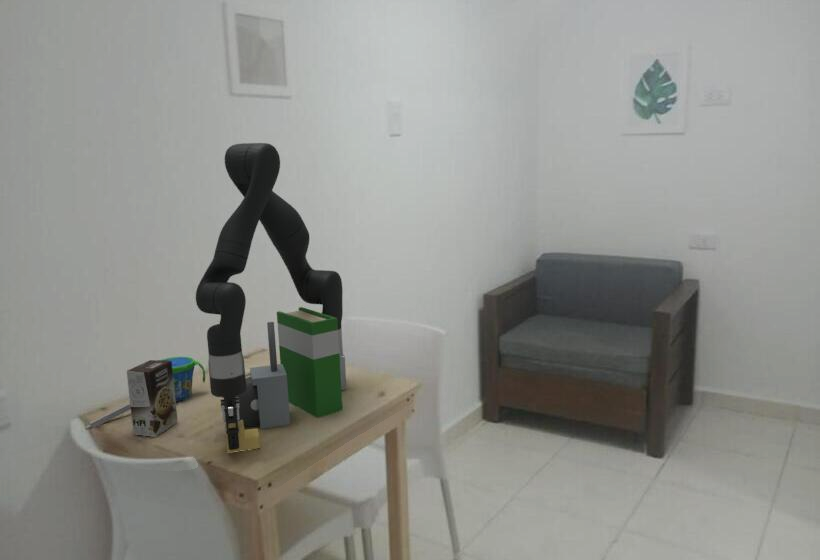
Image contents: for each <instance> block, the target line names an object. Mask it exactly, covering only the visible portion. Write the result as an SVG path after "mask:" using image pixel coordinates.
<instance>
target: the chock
mask: <svg viewBox="0 0 820 560" xmlns="http://www.w3.org/2000/svg"><path fill="white" fill-rule="evenodd" d="M228 426H229V428H234V427H236V424H235V423H230V424H229V425H228ZM224 429H225V440H226V450H227V452H234V451H240V450H248V449H256V450H258V449H257V448H260V449H261V444H260V435H259V430H258V429H259V428H258V427H256V428H250V429H245V424H244V423H243V420H240V421H239V422H238V429H239V433H238V438H239V448H238V449H235V450H229V445H228V435H227V433H226V430H227V429H226V424H224Z"/></svg>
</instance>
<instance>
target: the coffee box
mask: <svg viewBox="0 0 820 560" xmlns="http://www.w3.org/2000/svg"><path fill="white" fill-rule="evenodd" d="M126 377H127V378H126V379H127V386H128V387H127V388H128V394H129V395H128V396H129V403H130V406H131V409H130V413H131V415H130V416H131V423H132V434H136V435H135V436H137V435H143V436H142V437H146V436H151V437H150V438H156V437H155V436H157V435H158V436H159V434H160V433H161V434H163V433H164V432H166V431H168V430H169V429H171V428H172V427H174V426H175V425H177V424H178V423H179V421H178V413H177V412H178V410H177V403H176V402H177V401H176V400H175V390H174V380H173V371H172V361H166V360H163V359H160V360H159V359H157V360H155V359H153V360H152V359H150V360H148V361H145V362H143V363H141V364H139V365H136V366H134V367H133V368H129V369H128V370H126ZM173 425H174V426H173ZM170 427H171V428H170ZM168 428H169V429H168ZM165 430H166V431H165ZM162 432H163V433H162ZM161 434H160V435H161ZM158 436H157V437H158Z"/></svg>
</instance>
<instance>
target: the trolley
mask: <svg viewBox="0 0 820 560" xmlns="http://www.w3.org/2000/svg"><path fill="white" fill-rule="evenodd" d="M266 324H267V326H266V327H267V328H266V329H267V340H268V350H269V352H268V353H269V365H264V366H255V367H249V372H250V373H249V374H250V376H249V377H245V378H246V390H245V392H243V393H242V394H240V395H237V396H235V398H236V397H239V405H240V409H239V417H240V420H243V423H244V426H248V427H259V428H260V430H263V429H270V428H276V427H284V426H290V425H291V418H290V417H291V414H290V403H289V400H288V386H287V374H286V372H285V369H284V366H283V364H278V359H277V358H278V356H277V347H276V345H277V344H276V333H275V330H276V329H275V322H274V321H268V322H267V323H266Z"/></svg>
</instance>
